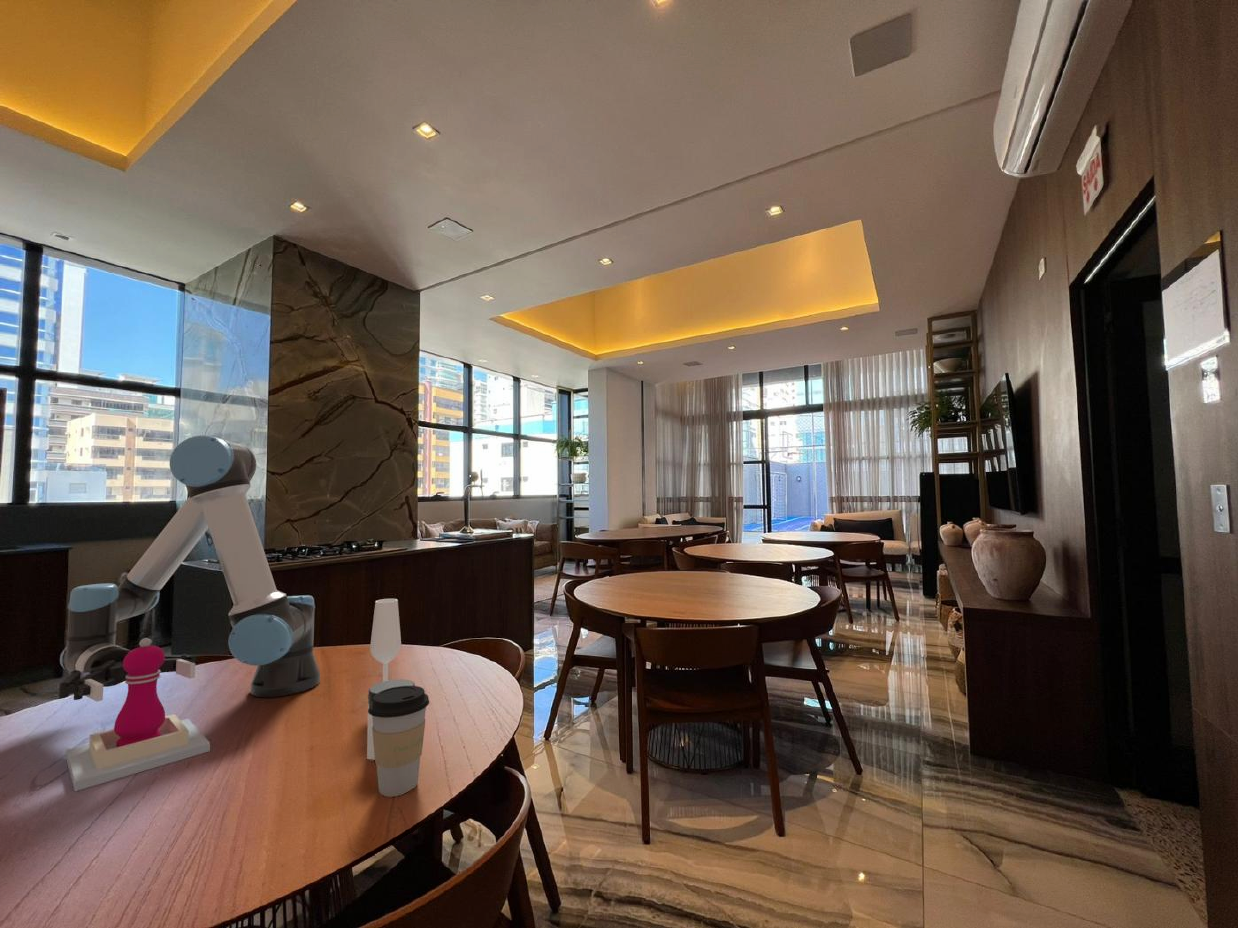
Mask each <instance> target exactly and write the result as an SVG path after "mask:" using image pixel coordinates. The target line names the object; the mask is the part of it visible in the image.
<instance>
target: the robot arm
mask: <svg viewBox="0 0 1238 928" xmlns="http://www.w3.org/2000/svg"><path fill="white" fill-rule="evenodd" d="M169 468H170V472H171V474H172V475H173V477H174V478H175V479H176V480H177V481H178V482H180V483H181V484H183V485H185V487H186V490H187V494H188V498H187V499H186V500H185V502H184V503H182V505H181V506H180V507H179V509H178V510H177V512H176V513H175V514H174V515H173V517H172V518H171V519H170V521H169V522H168V523H167V524H166V525H165V527H164V528H163V529H162V531H161V532H160V533H158V536H157V537H156V538H155V539H154V541H153V542H152V543H151V544H150V546H149V547H148V548H147V550H146V551H145V552H144V553H143V555H142V556H141V557H140V558H139V560H138V561H137V562H136V563H135V565H134V566H133V567H132V568H131V570H130V571H129V573H127V575H126V576H125V578H124V579H123V580H122V582H120V584H119V585H117V584H115V583H107V582H106V583H95V584H93V583H92V584H86V585H80V586H76V587H75V588H73V589H72V590H71V592H70V596H69V603H68V604H67V606H68V607H67V609H68V613H67V614H68V615H67V639H66V646H65V647H64V649H62V652H61V653H60V657H59V664H60V666H61V667H62V669H64V670H65V672H66V673H68V674H69V676H68V677H66V678H65V679H64V680H62V682H60V683H59V685H58V686H59V687H58V699H65V698H68V697H69V696H70V695H73V700H74V701H78V700H79V701H80V700H82V699H83V697H87V698H89V699H91V700H93V701H95V702H101V701H104V688H107V687H108V688H109V687H113V686H117V685H119V684H121V683H123V682H125V681H126V675H128V672H127V671H125V670H124V668H123V661H124V658H125V656H126V655H127V654H128V653H129V652H130V651H131V649H128V648H126V647H122V646H120V645H116V634H117V622H120V621H122V620H123V621H124V620H127V619H130V618H133V617H137V616H139V615H142V614H145V613H147V612H148V611H151V610H152V609H153V608H154V607H156V605H157V604H158V603H159V601H160V594H161V593H160V591H161V590H162V589H163V587H164V586H165V585H166V583H167V582H168V581H169V580H170V578H171V577H172V576H173V575H174V573H175V572H176V571H177V570H178V568H179V567H180V565H181V564H182V563H183V562H184V560H185V559H186V558H187V556H188V555H189V554H190V553H191V552H192V550H193V549H194V547H195V546H196V545H197V544H198V543H199V541H200V540H201V538H202V537H203V536H204V535H205V534H206V532H207V531H208V530H209V533H210V536H211V539H212V542H213V544H214V548H215V550H216V555H217V559H218V560H219V563H220V566H221V567H220V568H221V570H222V573H223V575H224V579H225V582H226V585H227V588H228V591H229V593H230V597H231V601H232V603H233V605H232V608H231V609H230V610H229V612H228V619H229V621H230V625H231V627H232V629H231V631H230V633H229V636H228V649H229V652H230V653H231V654H232V656H233V658H235V659H236V660H237V661H239V662H240V663H243V664H246V665H248V666H255V667H256V666H257V667H256V670H255V672H254V675H253V678H252V679H251V683H250V695H251V696H254V697H257V698H275V697H277V698H278V697H283V696H290V695H294V694H298V693H301V692H305V691H307V689H308V690H310V689H309V688H311V689H312V688H314V686H315V687H316V686H318V685H319V684H320V683H321V672H320V671H321V670H320V668H319V665H318V663H317V660H316V658H315V657H316V656H315V655H314V638H315V637H314V636H315V635H314V634H315V633H314V632H315V610H316V605H315V598H314V597H313V596H312V595H291V596H290V595H288V596H287V593H284V592H283V591H280V590H278V589H277V586H276V583H275V580H274V577H273V574H272V571H271V569H270V566H269V562H268V559H267V556H266V552H265V550H264V546H263V545H262V540H261V538H260V535H259V532H258V529H257V525H256V523H255V520H254V516H253V513H252V510H251V507H250V504H249V502H248V501H249V500H248V498H247V493H248V491H249V490H250V488H251V485H252V484H251V481H252V480H253V477H254V475H255V474H256V470H257V459H256V457H255V454H254V452H253V451H251V449H250V448H249V447H248V446H246V445H245V444H243V443H240V442H238V441H235V440H229V439H224V438H222V437H220V436H216V435H204V434H203V435H196V436H191V437H188V438H186V439H185V440H184V439H183V440H182V441H181V442H179V444H177V445H176V447H175V448H174V450H172V452H171V455H170V457H169ZM159 670H160V671H161V672H160V674H161V673H174V672H175V674H177V675H179V676H182V677H183V678H187V679H193V678H196V654H187V653H183V654H165V660H164V663H163V664H162V665H161V666H160V667H159ZM319 682H320V683H319ZM318 683H319V684H318ZM317 684H318V685H317Z"/></svg>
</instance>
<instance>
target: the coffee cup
mask: <svg viewBox="0 0 1238 928" xmlns="http://www.w3.org/2000/svg"><path fill="white" fill-rule="evenodd" d="M429 704H430V700H429V695H428V694H426V692H425V689H424V688H423V687H421V686H418V685H415V686H399V687H393V688H389V689H386V690H383V691H381V692H379V693H377V694H376V695H375V696H374V698H373V701H372V702H371V703H370V705H369V704H368V707H369V709H368V708H367V714H368V713H369V714H370V715H372V720H373V727H372V732H373V743H374V754H375V761H374V763H375V764H376V774H377V775H376V776H377V783H378V784H377V786H378V793H379V794H380V795H381V796H383V795H384V796H383V797H389V798H390V797H391V798H392V797H393V796H395V797H399V796H398V795H400V796H403V795H405V794H404V793H406V792H408V791H410V790H411V789H412V788H414V787H415V786H416V785H417V786H418V781H419V772H420V764H421V756H422V754H423V746H424V738H425V737H424V736H425V735H424V734H425V728H426V709H427V707H428V706H429ZM417 786H416V787H417ZM416 787H415V788H416ZM415 788H414V789H415ZM411 791H412V790H411ZM411 791H410V792H411ZM408 793H409V792H408ZM402 794H403V795H402ZM406 794H407V793H406ZM393 798H394V797H393Z"/></svg>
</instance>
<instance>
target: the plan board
mask: <svg viewBox="0 0 1238 928" xmlns="http://www.w3.org/2000/svg"><path fill="white" fill-rule="evenodd" d="M158 730H159V731H161V736H158V737H155V738H151V739H147V740H143V741H140V742H136V743H132V744H128V745H125V746H121V747H117V748H116V744H117V741H118V740H119V739H120V738H121V737H120V736H118V735H117V734H116V733H115V731H114V728H113V729H109V730H105V731H100V732H96V733H92V734H90V735H89V743H88V744H82V745H80V746H77V747H72V748H68V749H66V753H65V759H66V763H67V766H68V771H69V775H70V778H71V782H72V785H73V790H74V792H78V791H80V790H84V789H88V788H91V787H94V786H98V785H102V784H104V783H108V782H111V781H114V780H118V779H122V778H124V777H128V776H131V775H135V774H137V773H141V772H145V771H148V770H152V769H155V768H158V767H162V766H164V765H168V764H171V763H175V762H178V761H181V760H185V759H189V758H192V757H195V756H198V755H201V754H205V753H207V752H208V753H209V752H210V751H211V742H210V741H209V740H208V739H207V737H205V735H204V734H203V733H202V732H201V731H200V730H199V729H198V728H197V726H196V725H195V724H194V723H193V722H192V721H191V720H190V719H189V718H186V719H182V720H181V719H180V718H179V717H177V715H176V714H170V715H165V721H164V723H163V724H162V725H161V726H160V728H159V729H158Z"/></svg>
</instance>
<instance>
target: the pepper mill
mask: <svg viewBox="0 0 1238 928" xmlns="http://www.w3.org/2000/svg"><path fill="white" fill-rule="evenodd" d="M152 643H153V641H152V639H150V638H149V637H143V638H142V639H141V640H140V641H139V643H138V644H139V647H136V648H134V649H131V650H130V652H129V653H128V654H127V655H126V656H125V658H124V661H123V668H124V670H125V671H127V672H128V675H126V680H125V681H124V682H125V684H127V690H128V691H127V696H126V698H125V701H124V704H123V705H122V707H121V709H120V711H118V712H119V713H118V714H117V716H116V719H115V722H114V725H113V726H114V727H113V729H114V731H115V733H116V734H117V735H118V736H120V737H121V738H120V739H119V740H118V741H117V744H116V748H117V747H121V746H125V745H128V744H132V743H136V742H140V741H143V740H147V739H151V738H155V737H158V736H161V731H159V730H158V729H159V728H160V726H161V725H162V724H163V723H164V721H165V716H166V711H165V708H164V706H163V704H162V703H161V701H160V698H159V695H158V691H157V690H158V689H157V685H158V684H157V683H158V679H160V678H161V673H160V672H161V671H160V670H159V667H160V666H161V665H162V664H163V663H164V660H165V655H166V654H165V652H164V650H163V649H162V648H161V647H159V646H157V645H151V644H152Z"/></svg>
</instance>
